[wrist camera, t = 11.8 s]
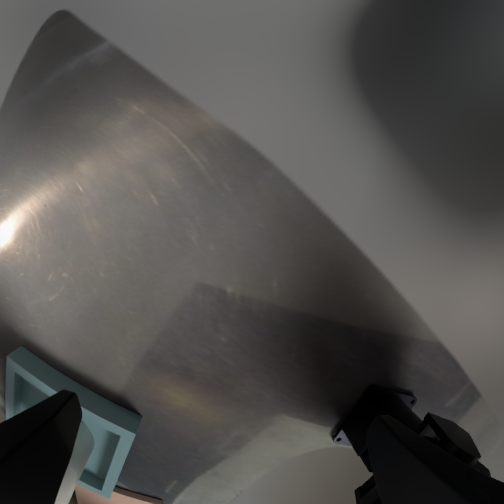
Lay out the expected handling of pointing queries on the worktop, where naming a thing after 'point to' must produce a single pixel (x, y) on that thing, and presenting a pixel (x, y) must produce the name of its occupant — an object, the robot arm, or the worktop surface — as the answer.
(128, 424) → the tray
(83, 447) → the frosted white cylinder
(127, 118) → the worktop surface
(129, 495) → the plate
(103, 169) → the worktop surface
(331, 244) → the worktop surface
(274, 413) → the worktop surface
